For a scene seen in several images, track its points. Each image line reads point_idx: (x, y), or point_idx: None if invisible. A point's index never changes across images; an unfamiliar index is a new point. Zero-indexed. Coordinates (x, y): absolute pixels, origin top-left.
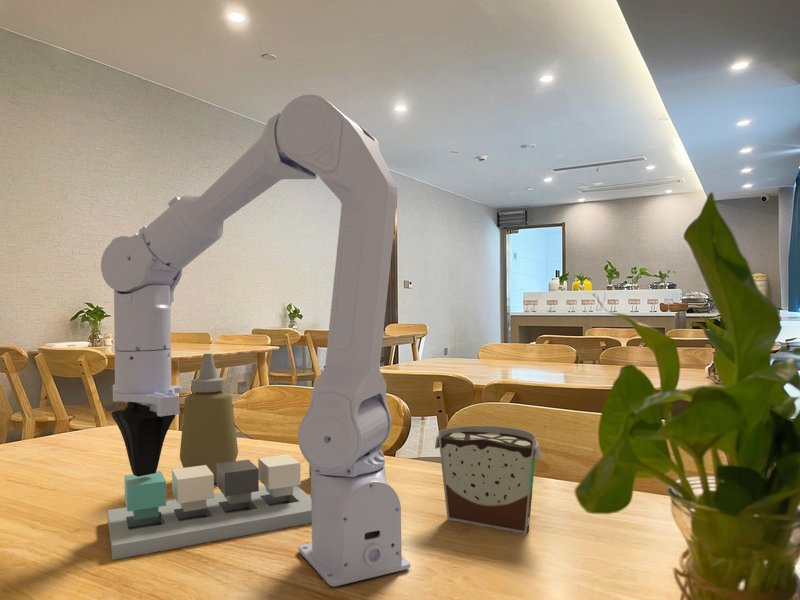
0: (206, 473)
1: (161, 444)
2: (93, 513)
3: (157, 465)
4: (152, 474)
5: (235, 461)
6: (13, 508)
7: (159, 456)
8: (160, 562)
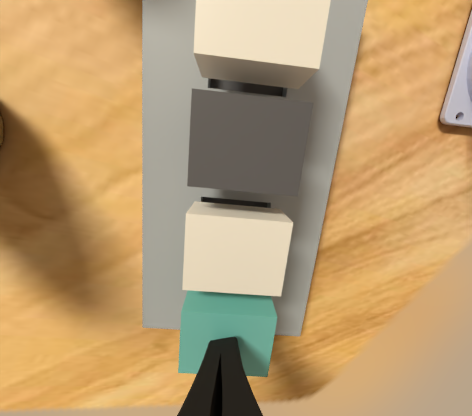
0: (271, 234)
1: (254, 399)
2: (94, 325)
3: (237, 348)
4: (202, 329)
5: (192, 131)
6: (16, 404)
7: (241, 365)
8: (337, 281)
